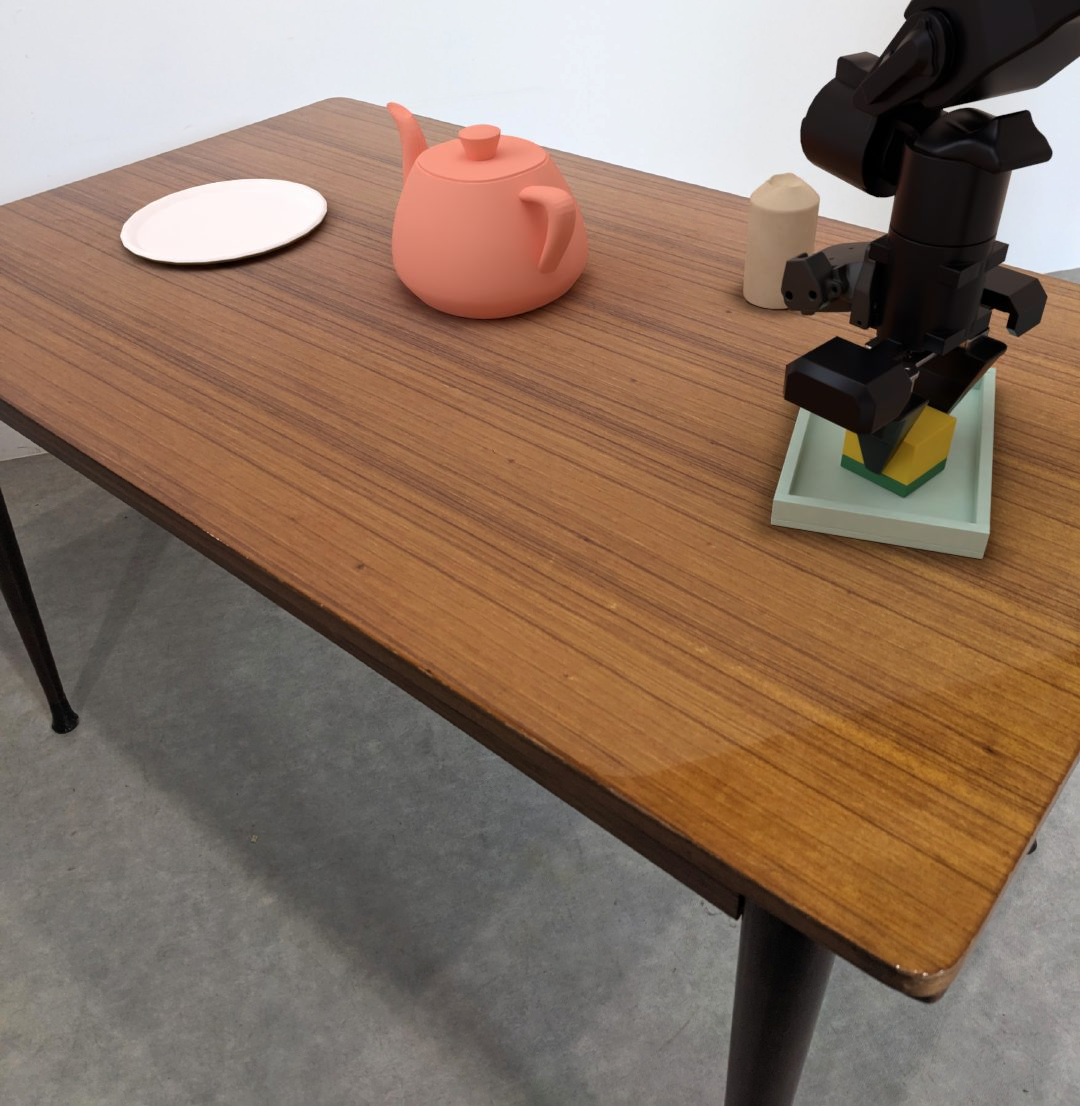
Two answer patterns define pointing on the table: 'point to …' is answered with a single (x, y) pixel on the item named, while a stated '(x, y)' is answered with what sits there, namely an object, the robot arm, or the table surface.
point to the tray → (880, 515)
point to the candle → (777, 235)
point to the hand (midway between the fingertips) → (895, 455)
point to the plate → (224, 221)
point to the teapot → (484, 223)
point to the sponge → (908, 454)
